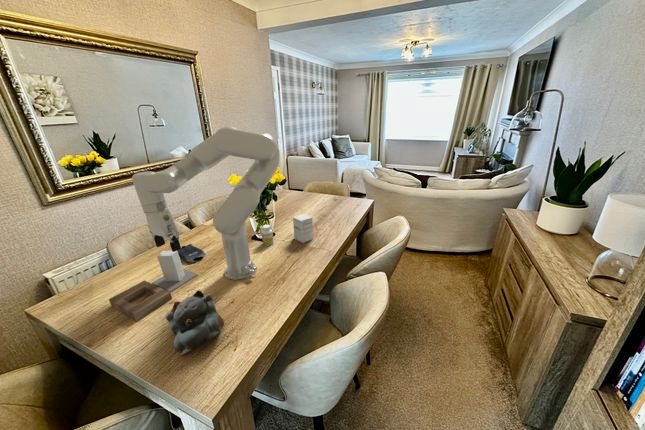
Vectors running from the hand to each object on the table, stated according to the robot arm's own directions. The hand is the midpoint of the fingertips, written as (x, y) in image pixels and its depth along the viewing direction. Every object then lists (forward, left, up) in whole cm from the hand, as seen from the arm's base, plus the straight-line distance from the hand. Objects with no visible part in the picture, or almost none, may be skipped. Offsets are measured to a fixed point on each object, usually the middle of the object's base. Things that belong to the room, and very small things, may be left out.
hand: (168, 247), depth 98 cm
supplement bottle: (-14, -40, -15) cm, 45 cm away
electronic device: (+11, -15, -15) cm, 24 cm away
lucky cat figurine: (-32, +16, -15) cm, 39 cm away
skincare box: (0, +1, -14) cm, 14 cm away
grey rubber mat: (+1, +1, -15) cm, 15 cm away
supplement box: (-28, -52, -15) cm, 61 cm away
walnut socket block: (-1, +15, -15) cm, 21 cm away
